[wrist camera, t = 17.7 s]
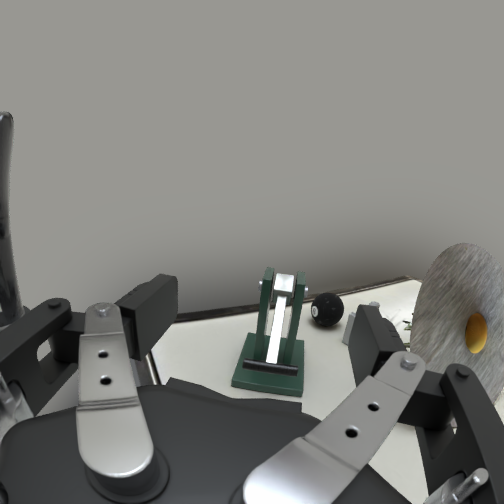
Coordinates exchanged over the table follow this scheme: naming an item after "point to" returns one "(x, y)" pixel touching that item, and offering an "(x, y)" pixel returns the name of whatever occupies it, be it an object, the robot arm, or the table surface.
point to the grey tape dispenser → (350, 323)
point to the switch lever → (276, 332)
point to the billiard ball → (327, 309)
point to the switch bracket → (288, 349)
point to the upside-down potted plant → (462, 316)
